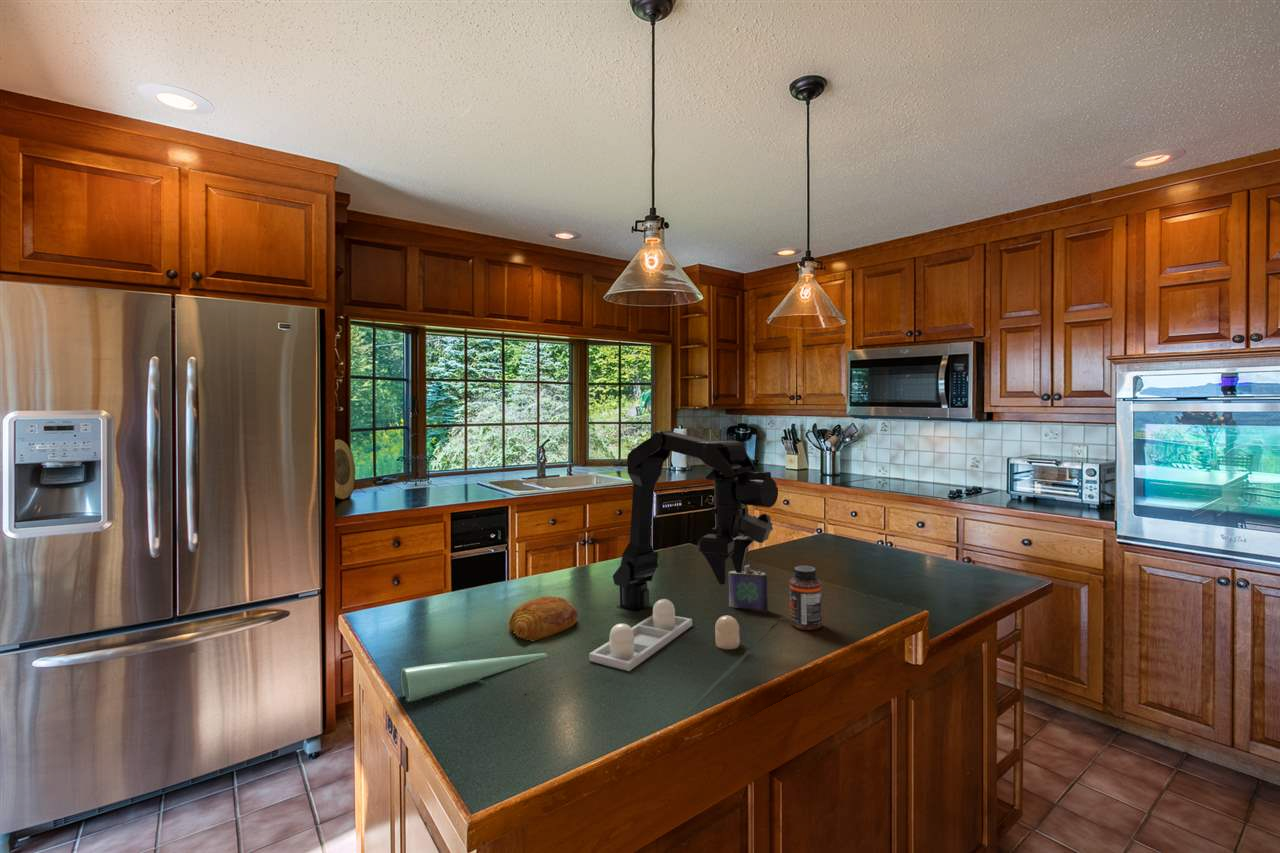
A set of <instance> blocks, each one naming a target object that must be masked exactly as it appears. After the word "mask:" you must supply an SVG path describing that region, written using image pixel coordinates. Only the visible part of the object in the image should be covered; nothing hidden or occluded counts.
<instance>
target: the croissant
mask: <svg viewBox="0 0 1280 853" xmlns="http://www.w3.org/2000/svg"><path fill="white" fill-rule="evenodd" d="M577 621H578V611H577V609H576V607H575V606H574V605H573V604H572V603H570V602H569V601H568V600H566V599H565V598H562V597H558V596H550V595H549V596H541V597H538V598H534V599H530V600H529V601H525V602H524V603H522V604H520V605H519V606H518V607H516V608H515V609H514V610H513V612H512V615H511V616H510V618H509V621H508V626H509V631H510V630H511V631H513V632H515V634H514V635H515V636H516V637H518V638H519V637H520V639H521V638H523V639H522V640H524V639H527V640H537V641H540V640H539V639H541V640H543V639H545V638H549V637H551V636H554V635H556V634H558V633H561V632H563V631H566V630H568V629H570V628H571V627H573V626H575V624H576V623H577ZM511 631H510V632H511ZM542 638H543V639H542ZM527 640H526V641H527Z"/></svg>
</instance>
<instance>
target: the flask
mask: <svg viewBox="0 0 1280 853" xmlns="http://www.w3.org/2000/svg"><path fill="white" fill-rule="evenodd" d="M750 566H751V564H747V565H746V564H745V565H744V566H743V568H744V570H742V572H741V573H737V572H736V571H735V570H731V571H728V572H727V573H728V574H727V575H728V607H730V608H737V609H738V608H739V609H743V610H750V611H755V612H760V611H767V612H768V609H769V608H768V607H769V606H768V603H769V602H768V601H769V600H768V576H767V574H766V573H765V572H761V571H760V570H753V569H752V568H750Z"/></svg>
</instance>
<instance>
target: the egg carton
mask: <svg viewBox="0 0 1280 853" xmlns="http://www.w3.org/2000/svg"><path fill="white" fill-rule="evenodd" d="M692 626H693V618H689V617H683V616H677V615H675V628H674V629H673V630H671V631H669V630H664V629H659V628H654V627H653V614H651V615H650V616H648V617H647V618H645V619H643V620H642V621H640V622H638V623H637V624H636V625H633V626H632V627H631V628H632V630H633V632H634V655H635V656H634V657H633V658H631V659H630V660H628V661H626V660H622V659H618V658H614V657H610V641H607V642H606V643H604V644H602V645H601V646H599V647H598V648H596V649H594V650H592V651H591V652H590V653H589V654H588V657H589V660H588V661H589V662H592V663H596V664H600V665H603V666H607V667H612V668H615V669H619V670H623V671H627V672H631V670H633V669H634V668H636V667H637V666H639V665H640V664H641V663H643V662H645V660H647V659H648V658H650V657H651V656H652V655H654V654H656V653H657V652H658V651H659V650H660V649H662V648H663V647H665V646H666V645H667V644H669V643H670V642H671V641H673V640H675V639H676V638H677V637H679V636H680V635H681V634H683V633H684V632H685V631H686V630H688V629H690V628H692Z"/></svg>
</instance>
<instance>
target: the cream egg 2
mask: <svg viewBox="0 0 1280 853" xmlns="http://www.w3.org/2000/svg"><path fill="white" fill-rule="evenodd" d="M674 605H675V604H673V602H672V601H671V600H669V599H666V598H660V599H659V600H657V601H655V602H654V604H653V608H652V615H653V627H654V628H659V629H664V630H669V631H671V630H673V629H674V628H675V616H676V610H675V606H674Z"/></svg>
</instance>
